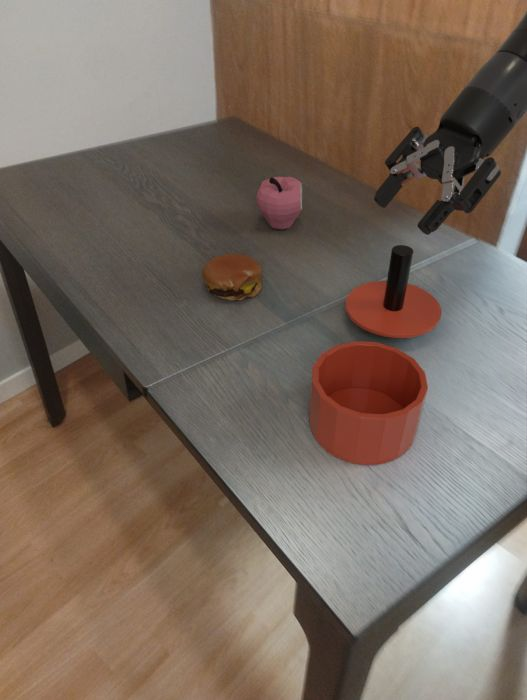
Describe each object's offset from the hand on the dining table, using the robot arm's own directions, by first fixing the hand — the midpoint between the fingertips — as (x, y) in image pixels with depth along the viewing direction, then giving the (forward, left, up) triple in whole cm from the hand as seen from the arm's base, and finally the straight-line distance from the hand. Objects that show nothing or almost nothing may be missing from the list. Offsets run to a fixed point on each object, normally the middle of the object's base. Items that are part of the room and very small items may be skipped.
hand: (399, 216), depth 67 cm
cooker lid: (-1, -1, -15) cm, 15 cm away
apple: (+17, -31, -17) cm, 39 cm away
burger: (+23, -9, -17) cm, 30 cm away
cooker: (+4, +19, -17) cm, 26 cm away
